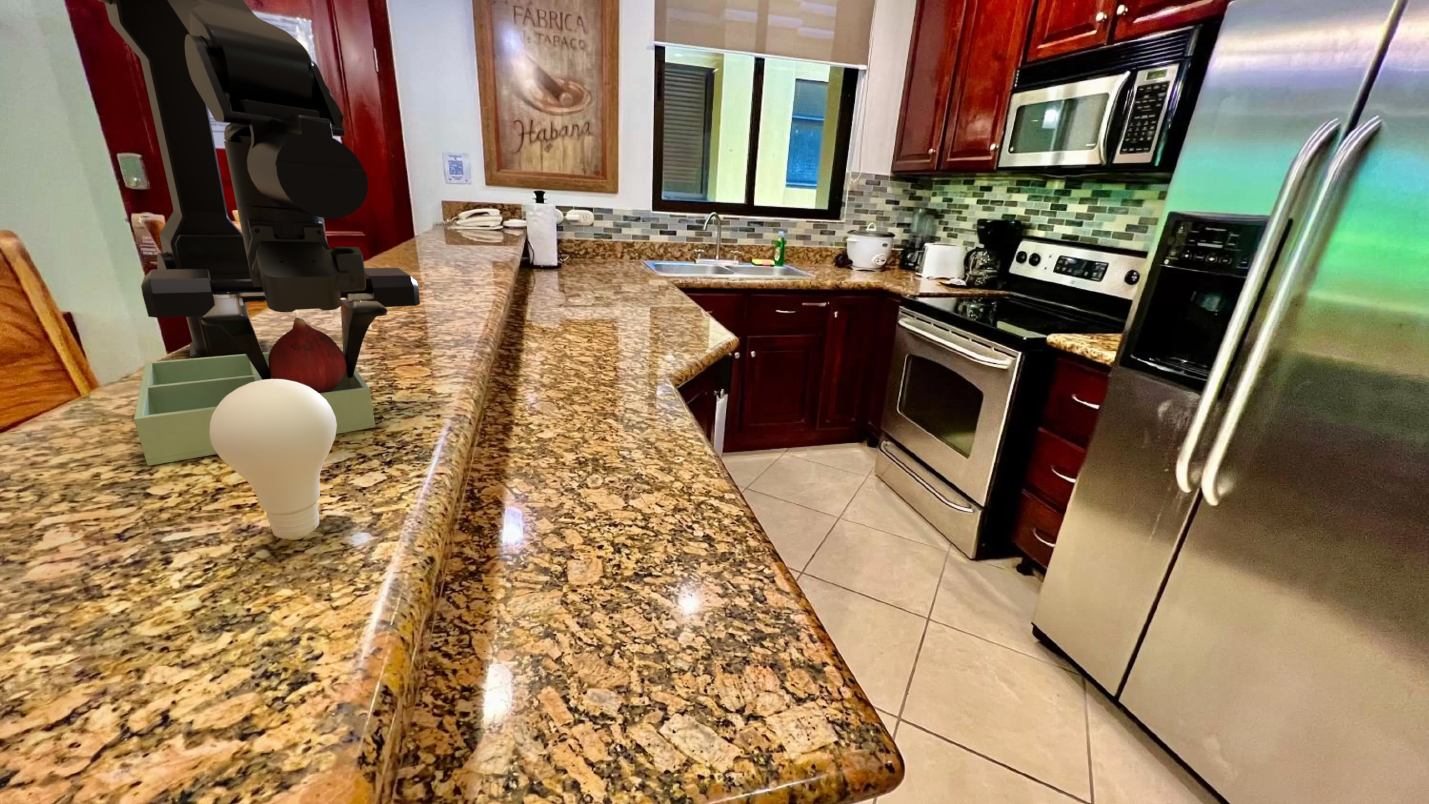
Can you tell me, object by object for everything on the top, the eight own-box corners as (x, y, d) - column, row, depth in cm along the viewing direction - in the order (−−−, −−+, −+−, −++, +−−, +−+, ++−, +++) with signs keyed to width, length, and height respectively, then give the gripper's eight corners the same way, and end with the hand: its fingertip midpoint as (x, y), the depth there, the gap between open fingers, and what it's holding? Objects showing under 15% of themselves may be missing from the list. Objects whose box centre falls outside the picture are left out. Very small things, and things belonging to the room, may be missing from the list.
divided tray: (156, 401, 53) (145, 362, 52) (344, 379, 63) (339, 345, 62) (147, 466, 43) (133, 419, 41) (375, 427, 53) (370, 388, 51)
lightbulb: (223, 573, 33) (178, 403, 29) (255, 518, 38) (220, 367, 34) (344, 556, 35) (317, 396, 31) (359, 506, 40) (337, 364, 37)
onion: (364, 394, 55) (354, 315, 52) (320, 416, 49) (305, 329, 47) (309, 387, 55) (296, 308, 52) (259, 407, 50) (241, 321, 47)
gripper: (108, 207, 35) (171, 432, 40) (429, 221, 46) (443, 393, 52) (123, 194, 42) (174, 385, 48) (396, 209, 54) (411, 360, 60)
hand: (310, 381), depth 52 cm, fingers closed on onion, 6 cm apart
